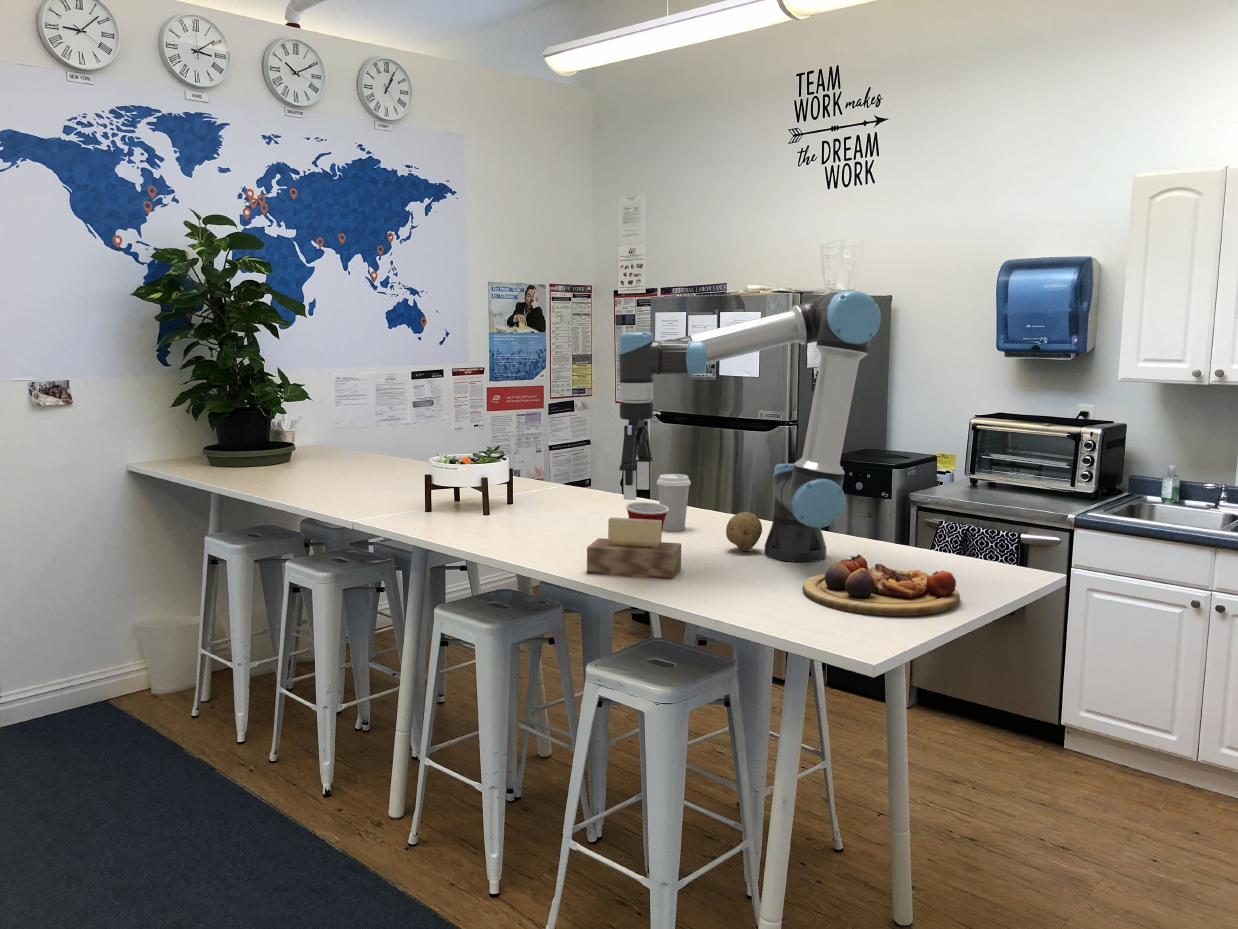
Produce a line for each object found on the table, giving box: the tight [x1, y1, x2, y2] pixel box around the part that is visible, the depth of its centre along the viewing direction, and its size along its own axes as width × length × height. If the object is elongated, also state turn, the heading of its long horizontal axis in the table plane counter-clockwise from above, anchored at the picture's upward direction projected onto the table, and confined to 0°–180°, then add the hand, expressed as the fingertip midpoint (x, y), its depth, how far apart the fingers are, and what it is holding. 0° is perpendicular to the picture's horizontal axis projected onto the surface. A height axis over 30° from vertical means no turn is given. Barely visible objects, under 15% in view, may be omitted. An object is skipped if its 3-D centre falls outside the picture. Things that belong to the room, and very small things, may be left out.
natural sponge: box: [725, 511, 763, 552], centre depth 242 cm, size 9×9×10 cm
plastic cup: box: [625, 501, 669, 529], centre depth 238 cm, size 11×11×12 cm
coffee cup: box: [656, 473, 692, 532], centre depth 267 cm, size 10×10×15 cm
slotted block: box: [586, 537, 682, 580], centre depth 221 cm, size 20×10×6 cm, turn 76°
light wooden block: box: [607, 516, 663, 548], centre depth 221 cm, size 12×2×11 cm, turn 77°
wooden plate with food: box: [802, 554, 961, 617], centre depth 202 cm, size 32×32×8 cm
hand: (636, 494), depth 219 cm, fingers open, 13 cm apart
